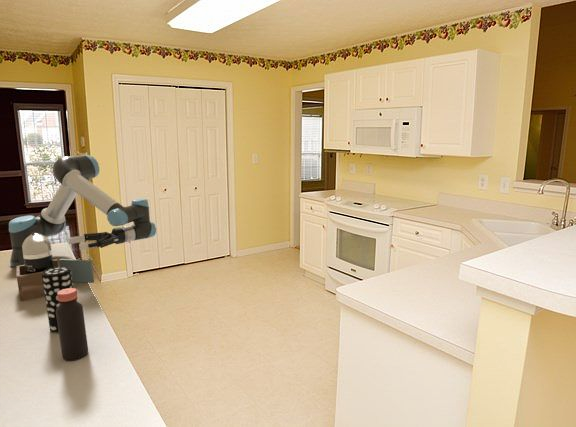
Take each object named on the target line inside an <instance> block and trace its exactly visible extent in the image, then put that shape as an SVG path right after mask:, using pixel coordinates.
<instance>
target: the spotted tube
mask: <svg viewBox="0 0 576 427" xmlns="http://www.w3.org/2000/svg"><path fill="white" fill-rule="evenodd" d="M42 280H43V287H44V293H45V296H44V298H45V305H46V312H47V319H48V325H49V327H48V328H49V331H50V332H51V333H53V334H59V330H58V324H57V317H56V309H57V307H58V306H59V305H60V303H59V302H58V296H57V292H59V291H60V290H63V289H67V288H74V282H72V275H71V268H70V267H60V266H58V267H55V268H50V269H47V270H45V271H43V272H42Z"/></svg>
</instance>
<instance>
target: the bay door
mask: <svg viewBox="0 0 576 427" xmlns="http://www.w3.org/2000/svg"><path fill="white" fill-rule="evenodd" d="M58 263H59V267H70V268H71V275H72V283H87V282H88V284H90V283H91V284H94V283H95V276H94V267H93V261H92V260H91V259H73V258H72V259H71V258H60V259H59V260H58Z"/></svg>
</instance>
